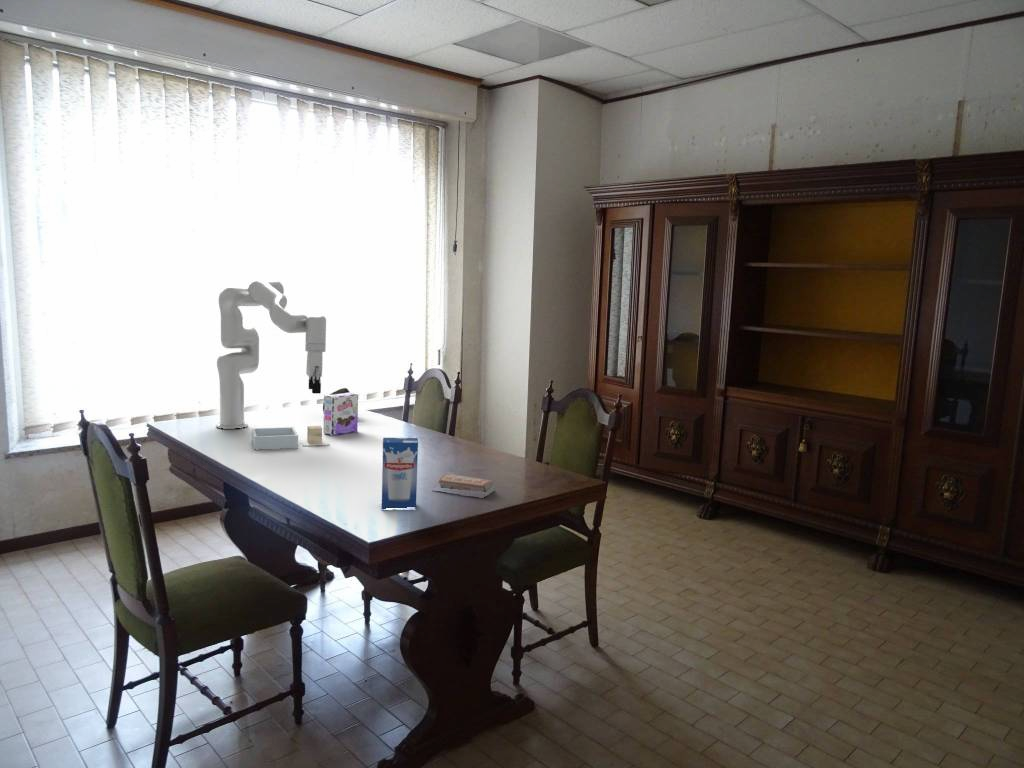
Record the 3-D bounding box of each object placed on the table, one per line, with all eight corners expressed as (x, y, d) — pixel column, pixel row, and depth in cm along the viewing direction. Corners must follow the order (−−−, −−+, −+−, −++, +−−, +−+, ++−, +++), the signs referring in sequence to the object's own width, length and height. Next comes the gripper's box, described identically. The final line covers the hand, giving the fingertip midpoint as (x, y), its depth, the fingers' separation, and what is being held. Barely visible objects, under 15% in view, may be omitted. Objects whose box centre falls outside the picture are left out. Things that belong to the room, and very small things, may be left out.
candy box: (332, 436, 303) (332, 396, 301) (322, 434, 307) (323, 394, 304) (358, 431, 314) (358, 393, 312) (348, 429, 317) (349, 391, 315)
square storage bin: (252, 441, 288) (252, 428, 287) (293, 439, 294) (293, 427, 293) (254, 450, 274) (254, 437, 273) (298, 448, 280) (298, 435, 279)
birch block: (307, 440, 291) (307, 425, 290) (320, 440, 293) (320, 425, 292) (308, 443, 286) (308, 428, 286) (322, 443, 288) (322, 428, 288)
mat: (300, 440, 292) (300, 439, 292) (325, 439, 296) (325, 438, 296) (303, 446, 283) (303, 445, 283) (329, 445, 287) (329, 444, 287)
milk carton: (415, 503, 219) (417, 437, 216) (416, 510, 213) (418, 442, 210) (381, 503, 217) (383, 437, 215) (381, 510, 211) (382, 442, 208)
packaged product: (496, 477, 235) (484, 485, 226) (495, 492, 236) (483, 500, 227) (444, 470, 241) (431, 477, 232) (444, 484, 242) (430, 492, 233)
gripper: (302, 344, 291) (301, 387, 293) (308, 349, 275) (307, 395, 278) (322, 345, 294) (321, 387, 296) (328, 350, 278) (327, 394, 281)
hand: (314, 391), depth 287 cm, fingers open, 9 cm apart
